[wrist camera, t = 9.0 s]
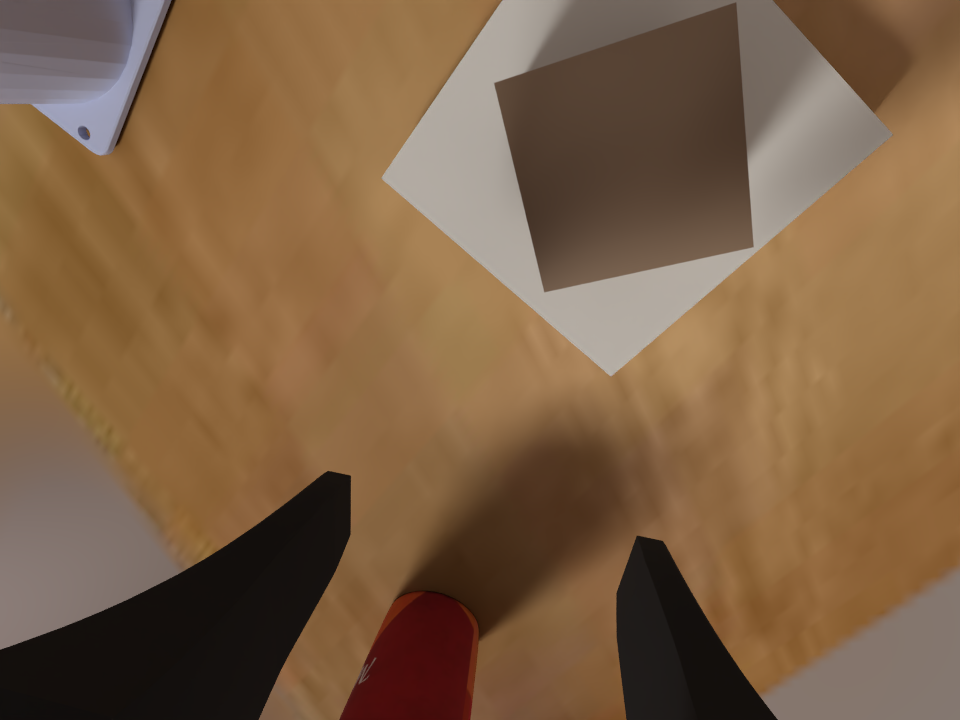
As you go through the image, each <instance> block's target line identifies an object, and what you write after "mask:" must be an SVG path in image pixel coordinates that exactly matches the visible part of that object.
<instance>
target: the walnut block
mask: <svg viewBox="0 0 960 720" xmlns="http://www.w3.org/2000/svg"><path fill="white" fill-rule="evenodd" d="M494 85H495V90H496V94H497V98H498V102H499V106H500V110H501V114H502V119H503V123H504V127H505V131H506V135H507V139H508V144H509V148H510V152H511V156H512V160H513V164H514V168H515V173H516V177H517V181H518V185H519V189H520V193H521V198H522V202H523V206H524V210H525V214H526V218H527V223H528V227H529V231H530V235H531V239H532V243H533V247H534V252H535V256H536V260H537V264H538V268H539V272H540V277H541V281H542V285H543V289H544V292H549V291H553V290H558V289H563V288H567V287H572V286H577V285H581V284H586V283H590V282H595V281H600V280H604V279H609V278H614V277H618V276H623V275H628V274H632V273H637V272H641V271H646V270H651V269H655V268H660V267H665V266H669V265H674V264H678V263H683V262H688V261H692V260H697V259H702V258H706V257H711V256H715V255H720V254H725V253H729V252H734V251H739V250H743V249H748V248H752V247H754V245H753V230H752V216H751V202H750V188H749V174H748V160H747V145H746V131H745V117H744V103H743V89H742V75H741V60H740V46H739V32H738V18H737V4H736V2H735V3H732V4H729V5H726V6H723V7H720V8H717V9H714V10H711V11H708V12H705V13H702V14H699V15H696V16H693V17H690V18H687V19H684V20H681V21H678V22H675V23H672V24H669V25H666V26H663V27H660V28H657V29H654V30H651V31H648V32H645V33H642V34H639V35H636V36H633V37H630V38H627V39H624V40H621V41H618V42H615V43H612V44H609V45H606V46H603V47H600V48H597V49H594V50H591V51H588V52H585V53H582V54H579V55H576V56H573V57H570V58H567V59H564V60H561V61H558V62H555V63H552V64H549V65H546V66H543V67H540V68H537V69H534V70H531V71H528V72H526V73H523V74H520V75H517V76H514V77H511V78H508V79H505V80H502V81H499V82H496V83H494Z"/></svg>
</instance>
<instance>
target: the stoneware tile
mask: <svg viewBox="0 0 960 720" xmlns="http://www.w3.org/2000/svg"><path fill="white" fill-rule="evenodd" d="M735 2H736V4H737V18H738V32H739V46H740V60H741V75H742V89H743V103H744V117H745V131H746V145H747V160H748V174H749V188H750V202H751V216H752V230H753V245H754V247H752V248H748V249H743V250H739V251H734V252H729V253H725V254H720V255H715V256H711V257H706V258H702V259H697V260H692V261H688V262H683V263H678V264H674V265H669V266H665V267H660V268H655V269H651V270H646V271H641V272H637V273H632V274H628V275H623V276H618V277H614V278H609V279H604V280H600V281H595V282H590V283H586V284H581V285H577V286H572V287H567V288H563V289H558V290H553V291H549V292H544V289H543V285H542V281H541V277H540V272H539V268H538V264H537V260H536V256H535V252H534V247H533V243H532V239H531V235H530V231H529V227H528V223H527V218H526V214H525V210H524V206H523V202H522V198H521V193H520V189H519V185H518V181H517V177H516V173H515V168H514V164H513V160H512V156H511V152H510V148H509V144H508V139H507V135H506V131H505V127H504V123H503V119H502V114H501V110H500V106H499V102H498V98H497V94H496V90H495V85H494V83H496V82H499V81H502V80H505V79H508V78H511V77H514V76H517V75H520V74H523V73H526V72H528V71H531V70H534V69H537V68H540V67H543V66H546V65H549V64H552V63H555V62H558V61H561V60H564V59H567V58H570V57H573V56H576V55H579V54H582V53H585V52H588V51H591V50H594V49H597V48H600V47H603V46H606V45H609V44H612V43H615V42H618V41H621V40H624V39H627V38H630V37H633V36H636V35H639V34H642V33H645V32H648V31H651V30H654V29H657V28H660V27H663V26H666V25H669V24H672V23H675V22H678V21H681V20H684V19H687V18H690V17H693V16H696V15H699V14H702V13H705V12H708V11H711V10H714V9H717V8H720V7H723V6H726V5H729V4H732V3H735ZM892 135H893V134H892V133H891V132H890V131H889V129H888V128H887V127H886V126H885V125H884V124H883V123H882V122H881V121H880V119H879V118H878V117H877V116H876V115H875V114H874V113H873V112H872V110H871V109H870V108H869V107H868V106H867V105H866V104H865V103H864V102H863V100H862V99H861V98H860V97H859V96H858V95H857V94H856V93H855V92H854V90H853V89H852V88H851V87H850V86H849V85H848V84H847V83H846V81H845V80H844V79H843V78H842V77H841V76H840V75H839V74H838V73H837V71H836V70H835V69H834V68H833V67H832V66H831V65H830V64H829V63H828V61H827V60H826V59H825V58H824V57H823V56H822V55H821V54H820V52H819V51H818V50H817V49H816V48H815V47H814V46H813V45H812V44H811V42H810V41H809V40H808V39H807V38H806V37H805V36H804V35H803V34H802V32H801V31H800V30H799V29H798V28H797V27H796V26H795V25H794V23H793V22H792V21H791V20H790V19H789V18H788V17H787V16H786V15H785V13H784V12H783V11H782V10H781V9H780V8H779V7H778V6H777V5H776V3H775V2H774V1H773V0H502V2H501V3H500V4H499V6H498V7H497V9H496V10H495V12H494V13H493V15H492V16H491V18H490V19H489V21H488V22H487V24H486V25H485V27H484V28H483V29H482V31H481V32H480V34H479V35H478V37H477V38H476V40H475V41H474V43H473V44H472V46H471V47H470V49H469V50H468V51H467V53H466V54H465V56H464V57H463V59H462V60H461V62H460V63H459V65H458V66H457V68H456V69H455V71H454V72H453V74H452V75H451V76H450V78H449V79H448V81H447V82H446V84H445V85H444V87H443V88H442V90H441V91H440V93H439V94H438V96H437V97H436V98H435V100H434V101H433V103H432V104H431V106H430V107H429V109H428V110H427V112H426V113H425V115H424V116H423V118H422V119H421V121H420V122H419V123H418V125H417V126H416V128H415V129H414V131H413V132H412V134H411V135H410V137H409V138H408V140H407V141H406V143H405V144H404V145H403V147H402V148H401V150H400V151H399V153H398V154H397V156H396V157H395V159H394V160H393V162H392V163H391V165H390V166H389V168H388V169H387V170H386V172H385V173H384V175H383V176H382V179H383V180H384V181H385V182H386V183H387V184H389V185H390V186H391V187H392V188H393V189H394V190H395V191H397V192H398V193H399V194H400V195H401V196H402V197H404V198H405V199H406V200H407V201H408V202H409V203H411V204H412V205H413V206H414V207H415V208H416V209H417V210H419V211H420V212H421V213H422V214H423V215H424V216H426V217H427V218H428V219H429V220H430V221H431V222H433V223H434V224H435V225H436V226H437V227H438V228H439V229H441V230H442V231H443V232H444V233H445V234H446V235H448V236H449V237H450V238H451V239H452V240H453V241H455V242H456V243H457V244H458V245H459V246H460V247H461V248H463V249H464V250H465V251H466V252H467V253H468V254H470V255H471V256H472V257H473V258H474V259H475V260H477V261H478V262H479V263H480V264H481V265H482V266H483V267H485V268H486V269H487V270H488V271H489V272H490V273H492V274H493V275H494V276H495V277H496V278H497V279H499V280H500V281H501V282H502V283H503V284H504V285H506V286H507V287H508V288H509V289H510V290H511V291H512V292H514V293H515V294H516V295H517V296H518V297H519V298H521V299H522V300H523V301H524V302H525V303H526V304H528V305H529V306H530V307H531V308H532V309H533V310H534V311H536V312H537V313H538V314H539V315H540V316H541V317H543V318H544V319H545V320H546V321H547V322H548V323H550V324H551V325H552V326H553V327H554V328H555V329H556V330H558V331H559V332H560V333H561V334H562V335H563V336H565V337H566V338H567V339H568V340H569V341H570V342H572V343H573V344H574V345H575V346H576V347H577V348H578V349H580V350H581V351H582V352H583V353H584V354H585V355H587V356H588V357H589V358H590V359H591V360H592V361H594V362H595V363H596V364H597V365H598V366H599V367H600V368H602V369H603V370H604V371H605V372H606V373H607V374H609V375H610V376H612V375H613V374H614V373H616V372H617V371H618V370H619V369H620V368H621V367H623V366H624V365H625V364H626V363H627V362H628V361H630V360H631V359H632V358H633V357H634V356H635V355H637V354H638V353H639V352H640V351H641V350H642V349H644V348H645V347H646V346H647V345H648V344H649V343H651V342H652V341H653V340H654V339H655V338H656V337H658V336H659V335H660V334H661V333H662V332H663V331H665V330H666V329H667V328H668V327H669V326H670V325H672V324H673V323H674V322H675V321H676V320H677V319H679V318H680V317H681V316H682V315H683V314H684V313H686V312H687V311H688V310H689V309H690V308H691V307H693V306H694V305H695V304H696V303H697V302H699V301H700V300H701V299H702V298H703V297H704V296H706V295H707V294H708V293H709V292H710V291H711V290H713V289H714V288H715V287H716V286H717V285H718V284H720V283H721V282H722V281H723V280H724V279H725V278H727V277H728V276H729V275H730V274H731V273H732V272H734V271H735V270H736V269H737V268H738V267H739V266H741V265H742V264H743V263H744V262H745V261H746V260H748V259H749V258H750V257H751V256H752V255H753V254H755V253H756V252H757V251H758V250H759V249H760V248H762V247H763V246H764V245H765V244H766V243H767V242H769V241H770V240H771V239H772V238H773V237H774V236H776V235H777V234H778V233H779V232H780V231H781V230H783V229H784V228H785V227H786V226H787V225H788V224H790V223H791V222H792V221H793V220H794V219H795V218H797V217H798V216H799V215H800V214H801V213H802V212H804V211H805V210H806V209H807V208H808V207H809V206H811V205H812V204H813V203H814V202H815V201H816V200H818V199H819V198H820V197H821V196H822V195H823V194H825V193H826V192H827V191H828V190H829V189H830V188H832V187H833V186H834V185H835V184H836V183H837V182H839V181H840V180H841V179H842V178H843V177H844V176H846V175H847V174H848V173H849V172H850V171H851V170H853V169H854V168H855V167H856V166H857V165H858V164H860V163H861V162H862V161H863V160H864V159H865V158H867V157H868V156H869V155H870V154H871V153H872V152H874V151H875V150H876V149H877V148H878V147H879V146H881V145H882V144H883V143H884V142H885V141H886V140H888V139H889V138H890V137H891V136H892Z"/></svg>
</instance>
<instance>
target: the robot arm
mask: <svg viewBox="0 0 960 720" xmlns="http://www.w3.org/2000/svg"><path fill="white" fill-rule="evenodd" d="M170 3H171V0H0V104H32V105H33V106H34V107H36V108H37V109H38V110H39V111H41V112H42V113H43V114H44V115H46V116H47V117H48V118H50V119H51V120H52V121H53V122H55V123H56V124H57V125H59V126H60V127H61V128H62V129H64V130H65V131H66V132H68V133H69V134H70V135H71V136H73V137H74V138H75V139H76V140H78V141H79V142H80V143H82V144H83V145H84V146H85V147H87V148H88V149H89V150H91V151H92V152H93V153H95V154H97V155H108V154H110V153H112V151H113V150H114V147H115V145H116V142H117V140H118V137H119V134H120V132H121V129H122V127H123V124H124V122H125V119H126V116H127V114H128V111H129V109H130V106H131V103H132V101H133V98H134V96H135V93H136V91H137V88H138V85H139V83H140V80H141V78H142V75H143V72H144V70H145V67H146V65H147V62H148V60H149V57H150V54H151V52H152V49H153V47H154V44H155V41H156V39H157V36H158V34H159V31H160V29H161V26H162V23H163V21H164V18H165V16H166V13H167V10H168V8H169V5H170ZM86 128H87V129H88V130H89V132H90V137H89V136H88V134H87V132H86ZM350 527H351V476H350V475H345V474H340V473H336V472H331V471H327V472H326V473H324V474H323V475H321V476H320V477H319V478H317V479H316V480H315V481H314V482H312V483H311V484H310V485H309V486H307V487H306V488H305V489H304V490H302V491H301V492H300V493H299V494H297V495H296V496H295V497H293V498H292V499H291V500H290V501H288V502H287V503H286V504H284V505H283V506H282V507H280V508H279V509H278V510H276V511H275V512H274V513H272V514H271V515H270V516H268V517H267V518H265V519H264V520H263V521H261V522H260V523H259V524H257V525H256V526H254V527H253V528H252V529H250V530H249V531H247V532H246V533H244V534H243V535H241V536H240V537H238V538H237V539H235V540H234V541H232V542H231V543H229V544H228V545H226V546H225V547H223V548H222V549H220V550H219V551H217V552H215V553H214V554H212V555H211V556H209V557H207V558H206V559H204V560H202V561H201V562H199V563H197V564H195V565H194V566H192V567H190V568H188V569H187V570H185V571H183V572H181V573H180V574H178V575H176V576H174V577H172V578H170V579H168V580H166V581H164V582H162V583H160V584H158V585H156V586H154V587H152V588H150V589H148V590H146V591H144V592H142V593H140V594H138V595H136V596H134V597H132V598H130V599H128V600H126V601H124V602H122V603H119V604H117V605H115V606H113V607H110V608H108V609H106V610H104V611H102V612H99V613H97V614H94V615H92V616H89V617H87V618H84V619H82V620H80V621H77V622H75V623H72V624H70V625H67V626H65V627H62V628H60V629H57V630H54V631H51V632H49V633H46V634H43V635H40V636H38V637H35V638H32V639H29V640H27V641H24V642H22V643H18V644H16V645H13V646H10V647H7V648H4V649H1V650H0V720H259V717H260V715H261V713H262V711H263V708H264V706H265V704H266V702H267V699H268V697H269V695H270V693H271V691H272V688H273V686H274V684H275V682H276V679H277V677H278V675H279V673H280V671H281V669H282V667H283V665H284V663H285V661H286V659H287V657H288V655H289V654H290V652H291V650H292V648H293V646H294V645H295V643H296V641H297V639H298V638H299V636H300V634H301V632H302V630H303V629H304V627H305V625H306V623H307V622H308V620H309V618H310V616H311V614H312V613H313V611H314V609H315V607H316V606H317V604H318V602H319V600H320V598H321V597H322V595H323V593H324V591H325V589H326V588H327V586H328V584H329V582H330V580H331V578H332V577H333V575H334V573H335V571H336V569H337V566H338V564H339V561H340V559H341V557H342V554H343V552H344V549H345V547H346V545H347V542H348V540H349V537H350ZM616 619H617V643H618V652H619V661H620V669H621V678H622V686H623V694H624V702H625V710H626V719H627V720H778V719H777V718H776V717H775V716H774V714H773V713H772V712H771V711H770V709H769V708H768V707H767V705H766V704H765V703H764V701H763V700H762V699H761V698H760V696H759V695H758V694H757V692H756V691H755V690H754V688H753V687H752V685H751V684H750V683H749V681H748V680H747V679H746V677H745V676H744V674H743V673H742V671H741V670H740V669H739V667H738V666H737V664H736V663H735V661H734V660H733V658H732V657H731V655H730V654H729V652H728V651H727V649H726V648H725V646H724V645H723V643H722V642H721V640H720V639H719V637H718V635H717V634H716V632H715V631H714V629H713V627H712V626H711V624H710V623H709V621H708V619H707V618H706V616H705V614H704V613H703V611H702V609H701V608H700V606H699V604H698V603H697V601H696V599H695V598H694V596H693V594H692V592H691V591H690V589H689V587H688V585H687V584H686V582H685V580H684V578H683V576H682V575H681V573H680V571H679V569H678V567H677V565H676V564H675V562H674V560H673V558H672V556H671V554H670V552H669V551H668V549H667V547H666V545H665V544H664V542H663V541H660V540H656V539H651V538H646V537H641V536H637V537H636V540H635V543H634V545H633V548H632V551H631V554H630V557H629V560H628V562H627V565H626V568H625V571H624V574H623V576H622V579H621V582H620V585H619V588H618V591H617V608H616Z"/></svg>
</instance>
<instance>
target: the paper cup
mask: <svg viewBox="0 0 960 720" xmlns="http://www.w3.org/2000/svg"><path fill="white" fill-rule="evenodd" d="M478 641H479V627H478V623H477V621H476V619H475V617H474V615H473V614H472V613H471V611H470V610H469V609H468V608H467V607H465V606H464V605H463V604H462V603H460V602H459V601H457V600H455V599H453V598H451V597H449V596H446V595H443V594H440V593H436V592H429V591H416V592H411V593H407V594H405V595H402V596H401V597H399V598H398V599H397V600H395V602H394V603H393V604H392V606H391V607H390V609H389V611H388V613H387V615H386V617H385V619H384V621H383V623H382V626H381V628H380V630H379V632H378V634H377V636H376V639H375V641H374V643H373V645H372V647H371V650H370V652H369V654H368V656H367V659H366V661H365V663H364V665H363V668H362V670H361V672H360V674H359V677H358V679H357V681H356V683H355V686H354V688H353V690H352V692H351V695H350V697H349V699H348V701H347V704H346V706H345V708H344V710H343V713H342V715H341V717H340V719H339V720H470V717H471V708H472V699H473V690H474V681H475V672H476V663H477V653H478Z"/></svg>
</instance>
